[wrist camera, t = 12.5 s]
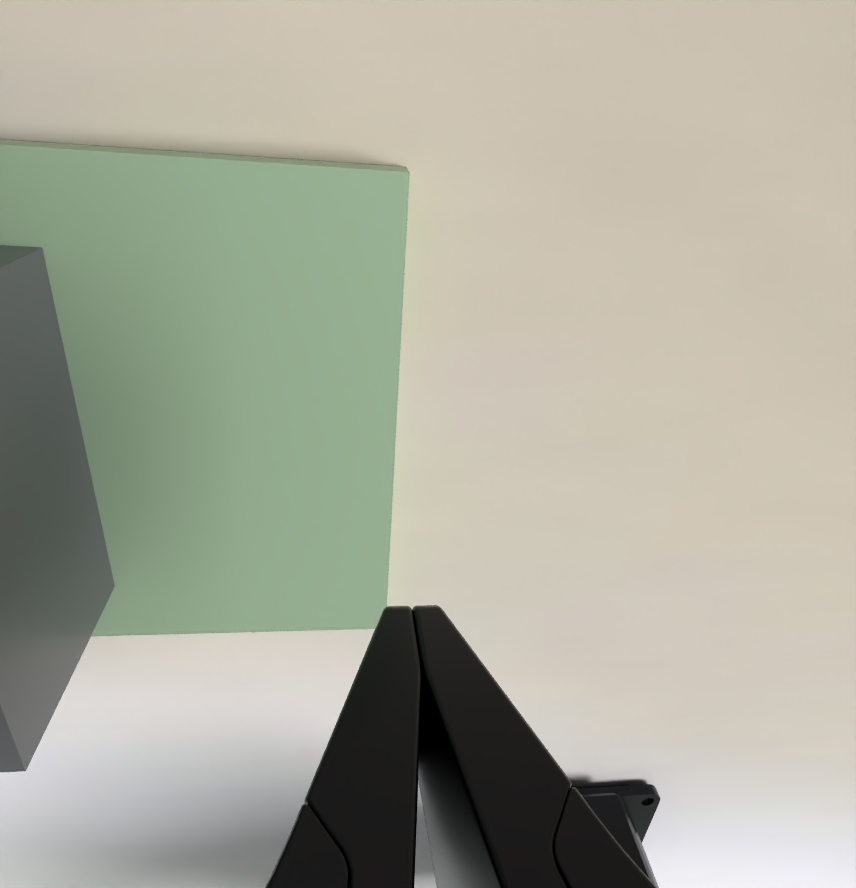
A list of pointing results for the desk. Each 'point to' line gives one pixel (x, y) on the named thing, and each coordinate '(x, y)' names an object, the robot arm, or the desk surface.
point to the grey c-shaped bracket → (41, 513)
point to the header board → (226, 374)
